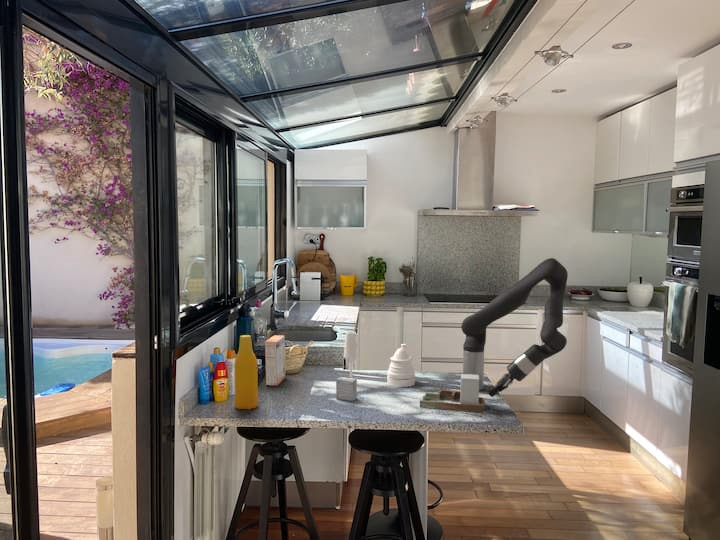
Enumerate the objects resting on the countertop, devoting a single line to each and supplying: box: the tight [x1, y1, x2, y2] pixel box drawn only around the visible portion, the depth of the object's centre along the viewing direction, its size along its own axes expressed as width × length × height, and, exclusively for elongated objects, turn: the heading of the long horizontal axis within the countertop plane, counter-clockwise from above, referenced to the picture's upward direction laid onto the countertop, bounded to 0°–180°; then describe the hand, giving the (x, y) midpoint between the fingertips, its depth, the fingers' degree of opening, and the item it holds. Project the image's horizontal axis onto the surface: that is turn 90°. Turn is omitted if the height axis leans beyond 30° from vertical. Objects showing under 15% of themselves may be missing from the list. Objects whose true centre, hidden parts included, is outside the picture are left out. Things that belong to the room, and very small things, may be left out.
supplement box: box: [459, 373, 480, 406], centre depth 225 cm, size 7×7×13 cm
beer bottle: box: [233, 334, 259, 410], centre depth 225 cm, size 9×9×29 cm
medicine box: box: [335, 376, 358, 402], centre depth 236 cm, size 8×4×9 cm, turn 65°
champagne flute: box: [343, 331, 359, 386], centre depth 257 cm, size 7×7×24 cm
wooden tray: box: [419, 389, 486, 414], centre depth 230 cm, size 17×25×2 cm
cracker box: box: [264, 334, 286, 387], centre depth 261 cm, size 14×6×21 cm, turn 172°
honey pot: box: [386, 343, 416, 388], centre depth 259 cm, size 13×13×18 cm
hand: (490, 394), depth 223 cm, fingers closed
